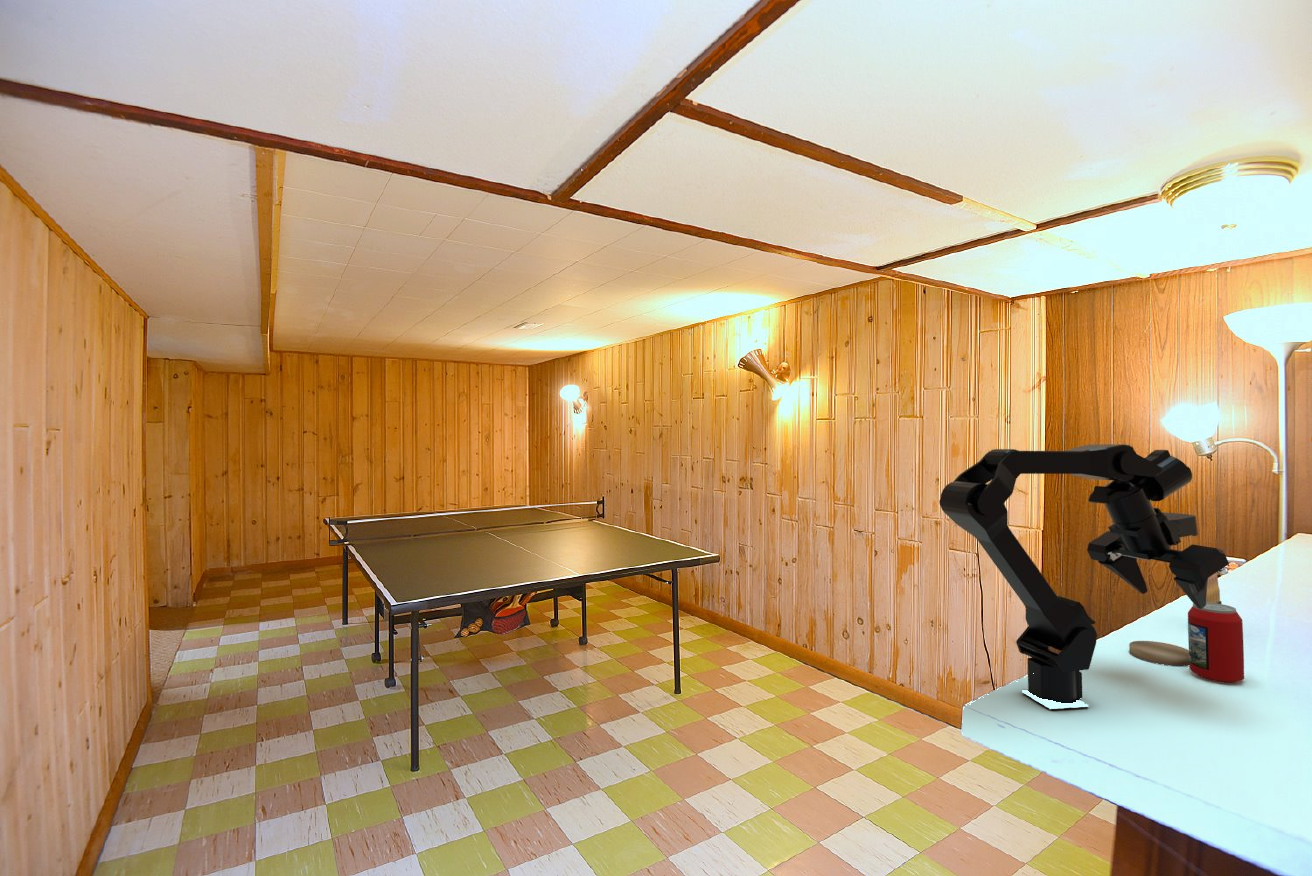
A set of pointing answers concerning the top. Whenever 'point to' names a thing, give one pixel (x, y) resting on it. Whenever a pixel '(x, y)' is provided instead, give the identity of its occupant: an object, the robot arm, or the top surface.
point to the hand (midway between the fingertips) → (1172, 599)
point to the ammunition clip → (1213, 590)
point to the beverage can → (1216, 643)
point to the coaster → (1159, 653)
